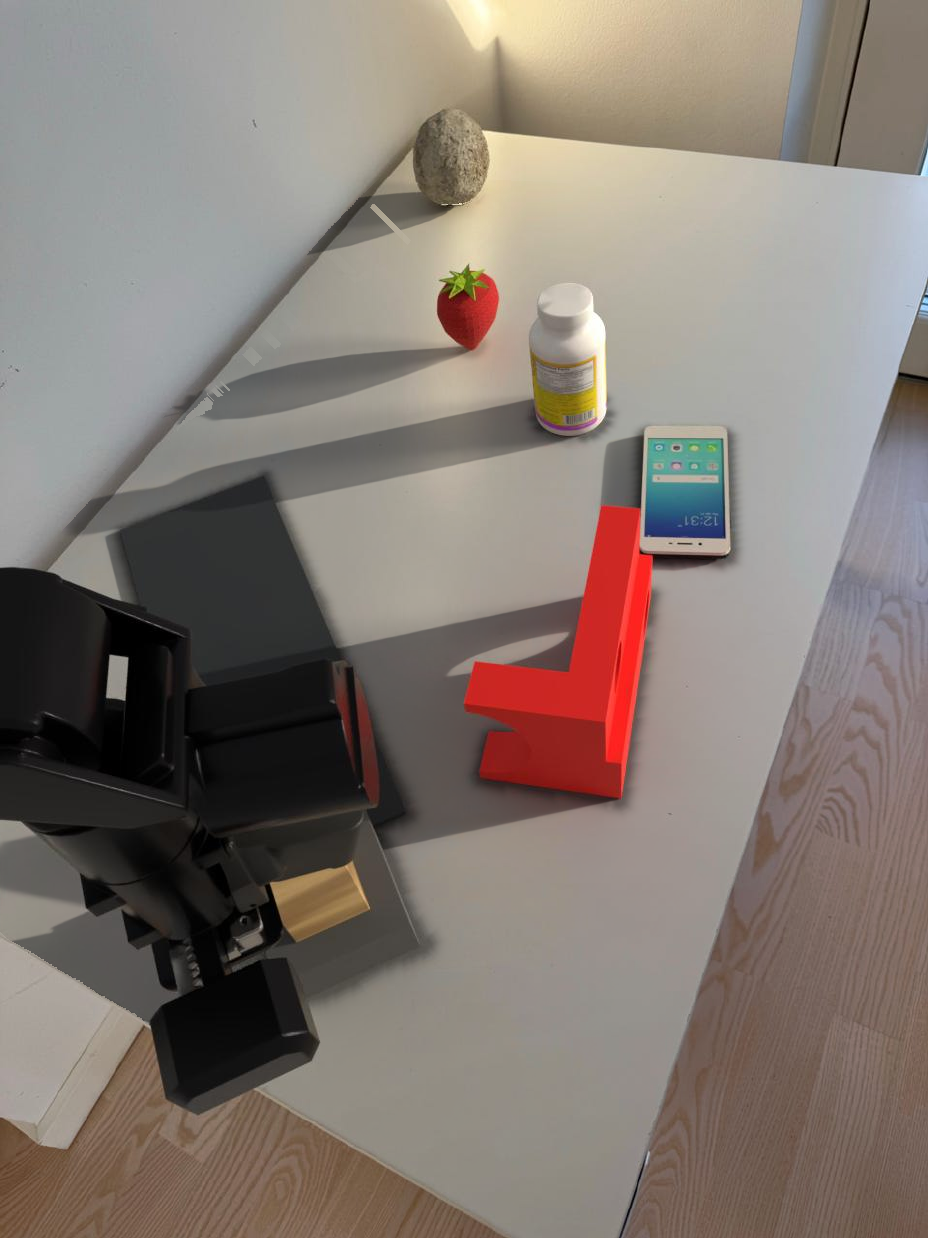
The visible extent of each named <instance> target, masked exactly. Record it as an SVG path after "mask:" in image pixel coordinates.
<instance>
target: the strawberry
mask: <svg viewBox="0 0 928 1238" xmlns="http://www.w3.org/2000/svg"><path fill="white" fill-rule="evenodd" d="M485 270H486V268H484V269H480V270H471V269H470V263H468V264H467V265H466V267H464V269H463V270H462V271H461V272H458V271H453V270H449V271H448V273H450V274H451V275H452V277H446V278H440V279H438V282H441V283H444V285H443V287H442V288H441V290H439V292H438V295H437V299H436V314H437V315H436V316H437V319H438V320H439V323H440V324H441V327H442V328H443V330H444V332H445V334H446V335H447V336H449V337H450V339H452V340H453V341H454V342H455V343H457V344H458V345H460V346H462V347H464V348H465V349H466V350H468V351H474V350H475V349H477V348H478V347H479V345H480V344H481V342H482V341H483V339H485V337H486V335H487V334H488V333H489V331H490V329H491V327H492V325H493V324H494V322H495V321H496V317H497V313H498V308H499V301H500V293H499V291H498V287H497V284H496V281H495V280H494V279H493V278H492V277H491V276H490V275H488V274H486V273H485V272H484V271H485Z"/></svg>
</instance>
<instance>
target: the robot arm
mask: <svg viewBox="0 0 928 1238" xmlns="http://www.w3.org/2000/svg"><path fill="white" fill-rule="evenodd" d="M111 656H114V657H115V656H116V657H122V658H127V667H126V682H125V683H126V684H125V695H124V697H125V698H124V699H120V698H118V697H117V698H114V697H107V695H108V694H107V692H108V683H109V669H110V661H111V660H110V659H111ZM341 660H342V659H341ZM373 735H374V733H373V727H372V722H371V719H370V714H369V709H368V705H367V700H366V697H365V693H364V690H363V686H362V683H361V680H360V677H359V675H358V672H357V669H356V668H355V665H353V664H352V665H348V663H347V662H346V661H345V660H342V661H337V662H333V661H332V660H330V659H326V658H324V659H319V660H314V661H309V662H304V663H300V664H296V665H292V666H290V667H287V668H284V669H281V670H279V671H275V672H271V673H267V674H262V675H257V676H252V677H247V678H242V679H237V680H232V681H228V682H223V683H218V684H213V685H208V686H206V685H205V684H204V683H203V681H202V680H201V679H200V677H199V676H198V674H197V672H196V671H195V669H194V668H193V666H192V631H191V630H190V629H188V628H186V627H183V626H181V625H178V624H176V623H173V622H171V621H168V620H166V619H163V618H160V617H158V616H155V615H153V614H150V613H148V612H147V607H143V606H140V604H135V603H132V602H129V601H128V602H127V601H124V600H119V599H117V598H112V597H110V596H108V595H104V594H102V593H100V592H98V591H95V590H92V589H90V588H87V587H85V586H82V585H79V584H78V583H75V582H73V581H69V580H67V579H64V578H62V577H61V576H60V575H59V574H57V573H55V572H52V571H48V570H43V569H39V568H34V567H21V566H5V567H0V821H11V822H20V823H22V824H23V825H24V826H25V827H26V828H27V829H29V830H30V831H31V832H32V833H33V834H34V835H35V836H37V837H38V838H39V839H40V840H41V841H43V842H44V844H46V845H47V846H48V847H49V848H50V849H52V850H53V851H54V852H55V853H56V854H57V855H59V857H61V858H62V859H63V860H64V861H66V862H67V863H68V864H69V865H70V867H72V868H73V869H75V870H76V871H77V872H78V874H79V878H80V883H81V888H82V894H83V899H84V900H83V901H84V905H85V909H86V910H87V911H89V912H90V913H91V914H92V915H93V916H95V917H96V918H99V917H100V916H102V915H105V914H107V913H110V912H112V911H114V910H116V909H120V910H121V916H122V919H123V925H124V930H125V933H126V940H127V943H128V944H129V945H130V946H132V947H133V948H134V949H135V950H137V951H138V950H140V949H143V948H145V947H147V946H149V945H150V946H151V951H152V955H153V961H154V964H155V969H156V973H157V978H158V982H159V984H160V986H161V988H163V989H164V990H166V991H169V992H172V993H177V992H178V997H176V998H174V999H172V1000H169V1001H168V1002H165V1003H163V1004H161V1005H160V1006H159V1008H158V1009H157V1010H156V1011H155V1012H154V1014H153V1015H152V1016H151V1017H150V1019H149V1021H148V1022H149V1026H150V1032H151V1035H152V1041H153V1045H154V1050H155V1054H156V1059H157V1065H158V1070H159V1074H160V1077H161V1083H162V1087H163V1092H164V1097H165V1100H166V1101H168V1102H170V1103H172V1104H174V1105H175V1106H177V1107H179V1108H181V1109H183V1110H185V1111H187V1112H189V1113H191V1114H194V1115H196V1116H201V1115H202V1114H204V1113H206V1112H208V1111H211V1110H212V1109H215V1108H217V1107H219V1106H220V1105H223V1104H225V1103H228V1102H229V1101H231V1100H233V1099H236V1098H238V1097H240V1096H241V1095H244V1094H246V1093H248V1092H250V1091H252V1090H255V1089H256V1088H258V1087H260V1086H262V1085H265V1084H266V1083H269V1082H271V1081H274V1080H275V1079H277V1078H280V1077H281V1076H284V1075H286V1074H288V1073H290V1072H292V1071H294V1070H296V1069H298V1068H300V1067H303V1066H305V1065H306V1064H308V1063H310V1062H312V1061H313V1060H314V1057H315V1055H316V1053H317V1051H318V1048H319V1046H320V1045H321V1040H320V1038H319V1037H320V1036H319V1034H318V1031H317V1027H316V1024H315V1022H314V1017H313V1015H312V1012H311V1008H310V1004H309V1001H308V998H306V995H305V992H304V989H303V986H302V984H301V981H300V979H299V977H298V975H297V973H296V971H295V968H294V966H293V964H292V963H291V962H290V961H289V960H288V959H287V958H286V957H283V958H273V959H267V958H263V959H258V960H256V961H254V962H252V963H250V964H247V965H246V966H242V967H241V968H239V969H236V970H235V971H233V968H234V967H237V966H239V965H240V964H242V963H244V962H246V961H248V960H251V959H253V958H255V957H257V956H259V955H262V954H265V952H266V951H268V950H270V949H271V948H273V947H274V946H275V945H276V944H277V943H278V941H279V940H280V939H281V937H282V935H283V930H284V927H283V923H282V920H281V917H280V913H279V910H278V907H277V904H276V901H275V898H274V894H273V891H272V888H271V885H270V883H271V882H280V881H285V880H288V879H292V878H296V877H299V876H303V875H307V874H310V873H314V872H318V871H321V870H325V869H329V868H332V869H336V868H340V867H343V866H346V865H347V864H349V863H350V862H351V861H352V860H353V859H354V857H355V855H356V852H357V847H358V842H359V837H360V833H361V828H362V823H363V818H364V810H365V809H370V808H376V807H377V805H378V802H379V774H378V764H377V757H376V750H375V743H374V738H375V737H374V738H373ZM201 983H202V984H201Z"/></svg>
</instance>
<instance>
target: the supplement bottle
mask: <svg viewBox="0 0 928 1238" xmlns="http://www.w3.org/2000/svg"><path fill="white" fill-rule="evenodd" d="M536 307H537V316H538V317H537V318H536V319H535V320H534V321H533V323H532V325H530V329H529V332H528V347H529V358H530V369H531V379H532V388H533V389H532V390H533V400H534V410H535V411H534V412H535V415H536V419H537V421H538V423H539V424H540V425H541V427H542V428H543V429H544V430H546V431H548V432H549V433H552V434H555V435H559V436H564V437H565V436H566V437H574V436H575V437H576V436H580V435H583V434H586V433H588V432H590V431H592V430H594V429H595V428H597V427H598V426H599V425H600V424H601V423H602V422H603V420H604V418H605V416H606V413H607V406H608V405H607V404H608V403H607V401H608V399H607V357H606V356H607V354H606V353H607V351H606V350H607V349H606V347H607V346H606V343H607V342H606V341H607V340H606V328H605V324H604V322H603V320H602V319H601V317H600V316H599V315H598V314H597V313H596V312H595V311H594V297H593V294H592V292H591V290H590V289H589V288H587V287H586V286H584V285H582V284H580V283H579V284H578V283H575V282H574V283H573V282H563V283H557V284H554V285H551V286H548V287H547V288H545V289H544V290H543V291H542V292H541V293H540V294H539V295H538V297H537V300H536Z"/></svg>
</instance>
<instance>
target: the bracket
mask: <svg viewBox="0 0 928 1238" xmlns="http://www.w3.org/2000/svg"><path fill="white" fill-rule="evenodd" d="M640 509H641V508H640V507H631V506H630V507H629V506H618V505H617V506H616V505H603V504H601V505H600V509H599V515H598V521H597V525H596V530H595V534H594V540H593V545H592V546H593V547H592V550H591V556H590V561H589V566H588V570H587V571H588V572H587V576H586V581H585V587H584V592H583V597H582V602H581V608H580V613H579V618H578V624H577V627H576V634H575V638H574V644H573V649H572V654H571V659H570V664H569V669H568V671H558V670H550V669H542V668H535V667H527V666H519V665H509V664H501V663H493V662H484V661H474V662H473V666H472V670H471V674H470V677H469V681H468V685H467V688H466V693H465V697H464V701H463V707H464V711H465V713H468V714H475V715H479V716H483V717H486V718H489V719H492V720H494V721H498V722H500V723H502V724H504V725H505V726H508V727H510V728H511V729H513V730H514V731H490V730H489V731H488V733H487V737H486V741H485V746H484V749H483V753H482V754H483V755H482V758H481V762H480V766H479V776H480V779H485V780H491V781H498V782H499V781H500V782H506V783H512V784H513V783H514V784H519V785H527V786H532V787H540V788H545V789H547V788H548V789H554V790H559V791H566V792H573V793H579V794H580V793H581V794H587V795H593V796H599V797H601V796H602V797H607V798H614V799H622V797H623V788H624V783H625V776H626V769H627V761H628V755H629V748H630V742H631V736H632V735H631V734H632V728H633V722H634V713H635V706H636V701H637V694H638V693H637V692H638V688H639V687H638V686H639V680H640V673H641V665H642V659H643V652H644V644H645V638H646V632H647V625H648V619H649V610H650V605H651V597H652V581H653V580H652V578H653V577H652V576H653V558H654V557H653V555H643V554H640V551H639V548H640V523H641V517H640Z"/></svg>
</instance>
